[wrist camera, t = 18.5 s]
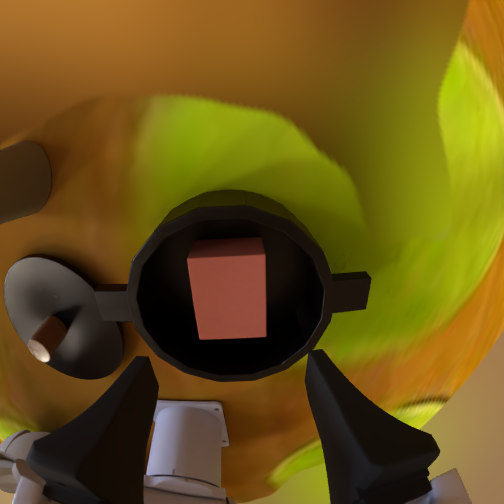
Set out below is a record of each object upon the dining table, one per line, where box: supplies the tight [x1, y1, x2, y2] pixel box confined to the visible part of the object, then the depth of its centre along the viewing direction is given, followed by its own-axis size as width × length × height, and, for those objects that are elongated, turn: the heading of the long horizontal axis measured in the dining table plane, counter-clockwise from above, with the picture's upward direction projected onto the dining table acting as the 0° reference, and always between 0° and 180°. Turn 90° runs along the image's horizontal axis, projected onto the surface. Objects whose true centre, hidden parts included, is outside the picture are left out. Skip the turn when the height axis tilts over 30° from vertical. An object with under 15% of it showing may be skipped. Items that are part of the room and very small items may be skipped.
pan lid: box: [4, 254, 125, 380], centre depth 20 cm, size 14×14×5 cm
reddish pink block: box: [187, 237, 267, 340], centre depth 19 cm, size 6×4×3 cm
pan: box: [94, 190, 371, 382], centre depth 19 cm, size 12×18×4 cm
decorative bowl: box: [0, 430, 50, 493], centre depth 25 cm, size 30×30×15 cm
